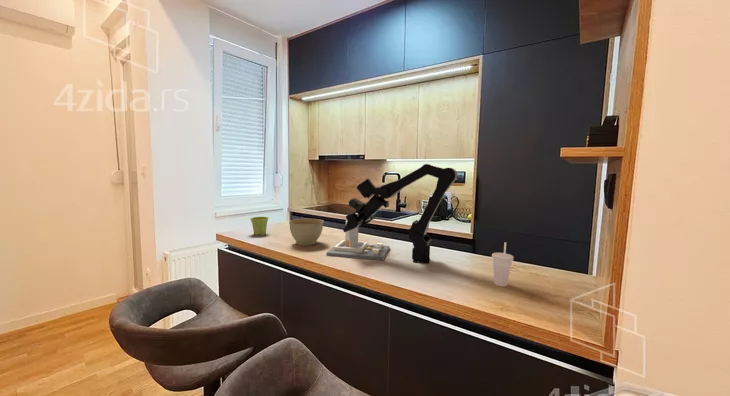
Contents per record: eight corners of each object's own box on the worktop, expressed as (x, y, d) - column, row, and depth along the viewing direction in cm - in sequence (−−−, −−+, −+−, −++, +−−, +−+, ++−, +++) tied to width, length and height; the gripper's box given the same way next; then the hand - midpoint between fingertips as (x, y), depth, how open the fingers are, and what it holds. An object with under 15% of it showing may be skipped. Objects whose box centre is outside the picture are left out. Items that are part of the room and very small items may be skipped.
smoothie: (510, 289, 93) (513, 245, 91) (488, 285, 96) (491, 242, 94) (512, 283, 98) (515, 241, 96) (491, 279, 101) (494, 238, 100)
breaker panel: (389, 248, 137) (389, 242, 137) (383, 260, 120) (383, 253, 119) (339, 244, 142) (339, 238, 142) (326, 255, 125) (326, 248, 124)
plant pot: (258, 236, 155) (257, 220, 154) (246, 234, 160) (246, 218, 159) (272, 233, 163) (272, 217, 162) (261, 231, 168) (261, 216, 167)
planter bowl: (327, 246, 139) (327, 223, 138) (291, 249, 133) (291, 225, 132) (319, 238, 154) (319, 217, 153) (287, 240, 148) (287, 219, 147)
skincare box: (345, 246, 135) (345, 220, 133) (353, 245, 136) (354, 219, 135) (349, 250, 129) (349, 222, 128) (358, 249, 130) (358, 222, 129)
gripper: (368, 191, 137) (347, 212, 142) (350, 194, 120) (326, 218, 126) (384, 209, 135) (361, 230, 140) (368, 215, 118) (343, 239, 123)
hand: (348, 229), depth 132 cm, fingers open, 9 cm apart
